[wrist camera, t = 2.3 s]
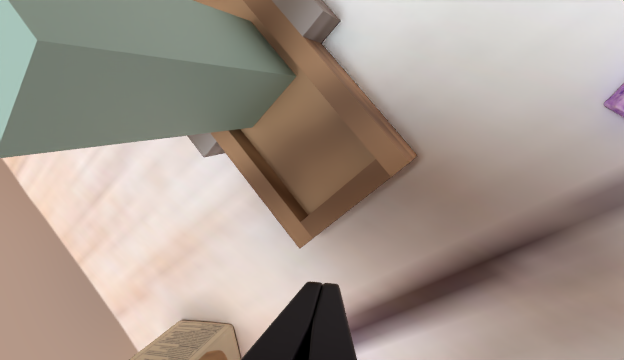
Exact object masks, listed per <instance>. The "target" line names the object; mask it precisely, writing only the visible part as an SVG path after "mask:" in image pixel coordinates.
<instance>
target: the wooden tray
mask: <svg viewBox="0 0 624 360" xmlns="http://www.w3.org/2000/svg"><path fill="white" fill-rule="evenodd" d="M193 1H196V2H199V3H202V4H204V5H207V6H210V7H213V8H215V9H218V10H221V11H224V12H227V13H229V14H232V15H235V16H238V17H241V18H243V19H246V20H249V21H251V22H252V23H253V25H254V26H255V27H256V28H257V29H258V31H259V32H260V33H261V34H262V35H263V37H264V38H265V39H266V40H267V41H268V43H269V44H270V45H271V46H272V47H273V49H274V50H275V51H276V52H277V53H278V55H279V56H280V57H281V58H282V59H283V61H284V62H285V63H286V64H287V65H288V67H289V68H290V69H291V70H292V71H293V73H294V74H295V75H296V78H295V79H294V80H293V81H292V82H291V83H290V84H289V86H288V87H287V88H286V89H285V90H284V91H283V93H282V94H281V95H280V96H279V97H278V98H277V99H276V101H275V102H274V103H273V104H272V105H271V106H270V108H269V109H268V110H267V111H266V112H265V113H264V115H263V116H262V117H261V118H260V119H259V120H258V121H257V123H256V124H255V125H254V126H253V127H252V128H244V129H236V130H228V131H220V132H211V133H203V134H195V135H187V136H188V137H189V139H190V140H191V141H192V143H193V144H194V145H195V147H196V148H197V149H198V150H199V152H200V153H201V154H202V156H203V157H208V156H213V155H218V154H223V153H226V154H227V155H228V157H229V158H230V159H231V161H232V162H233V163H234V164H235V166H236V167H237V168H238V170H239V171H240V172H241V174H242V175H243V176H244V177H245V179H246V180H247V181H248V183H249V184H250V185H251V186H252V188H253V189H254V190H255V192H256V193H257V194H258V196H259V197H260V198H261V199H262V201H263V202H264V203H265V205H266V206H267V207H268V208H269V210H270V211H271V212H272V214H273V215H274V216H275V218H276V219H277V220H278V221H279V223H280V224H281V225H282V227H283V228H284V229H285V230H286V232H287V233H288V234H289V236H290V237H291V238H292V240H293V241H294V242H295V243H296V245H297V246H298V247H299V249H300V248H301V247H303V246H304V245H305V244H306V243H308V242H309V241H310V240H312V239H313V238H314V237H315V236H317V235H318V234H319V233H321V232H322V231H323V230H324V229H326V228H327V227H328V226H329V225H331V224H332V223H333V222H335V221H336V220H337V219H338V218H340V217H341V216H342V215H343V214H345V213H346V212H347V211H349V210H350V209H351V208H352V207H354V206H355V205H356V204H358V203H359V202H360V201H361V200H363V199H364V198H365V197H366V196H368V195H369V194H370V193H372V192H373V191H374V190H375V189H377V188H378V187H379V186H381V185H382V184H383V183H384V182H386V181H387V180H388V179H389V178H391V177H392V176H393V175H395V174H396V173H397V172H398V171H400V170H401V169H402V168H403V167H405V166H406V165H407V164H409V163H410V162H411V161H412V160H413V159H414V158H415V157H416V156H417V155H416V153H415V152H414V151H413V150H412V149H411V148H410V146H409V145H408V144H407V143H406V142H405V141H404V139H403V138H402V137H401V136H400V135H399V134H398V132H397V131H396V130H395V129H394V128H393V127H392V125H391V124H390V123H389V122H388V121H387V120H386V118H385V117H384V116H383V115H382V114H381V113H380V111H379V110H378V109H377V108H376V107H375V106H374V104H373V103H372V102H371V101H370V100H369V99H368V97H367V96H366V95H365V94H364V93H363V92H362V90H361V89H360V88H359V87H358V86H357V85H356V83H355V82H354V81H353V80H352V79H351V78H350V77H349V75H348V74H347V73H346V72H345V71H344V70H343V68H342V67H341V66H340V65H339V64H338V63H337V61H336V60H335V59H334V58H333V57H332V56H331V54H330V53H329V52H328V51H327V50H326V49H325V47H324V46H323V45H322V44H321V43H322V42H323V41H324V39H325V38H326V37H327V36H328V35H329V34H330V32H331V31H332V30H333V29H334V28H335V27H336V25H337V24H338V23H339V22H340V20H339V19H338V18H337V17H336V16H335V14H334V13H333V12H332V11H331V10H330V9H329V8H328V6H327V5H326V4H325V3H324V2H323V1H322V0H193Z"/></svg>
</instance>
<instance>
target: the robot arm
mask: <svg viewBox="0 0 624 360" xmlns="http://www.w3.org/2000/svg"><path fill="white" fill-rule="evenodd" d="M241 360H357V358H356V354H355V349H354V345H353V341H352V337H351V333H350V329H349V325H348V321H347V317H346V313H345V308H344V304H343V300H342V296H341V292H340V288H339V285H338V284H331V283H324V284H322V283H319V282H307V283H306V284H305V285H304V286H303V287H302V289H301V290H300V291H299V292H298V293H297V294H296V296H295V297H294V298H293V299H292V300H291V301H290V303H289V304H288V305H287V306H286V307H285V309H284V310H283V311H282V312H281V313H280V314H279V316H278V317H277V318H276V319H275V320H274V321H273V323H272V324H271V325H270V326H269V327H268V329H267V330H266V331H265V332H264V333H263V334H262V336H261V337H260V338H259V339H258V340H257V341H256V343H255V344H254V345H253V346H252V347H251V348H250V350H249V351H248V352H247V353H246V354H245V356H244V357H243V358H242V359H241Z"/></svg>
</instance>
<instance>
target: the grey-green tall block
mask: <svg viewBox="0 0 624 360" xmlns="http://www.w3.org/2000/svg"><path fill="white" fill-rule="evenodd" d="M295 78H296V75H295V74H294V73H293V71H292V70H291V69H290V68H289V67H288V65H287V64H286V63H285V62H284V61H283V59H282V58H281V57H280V56H279V55H278V53H277V52H276V51H275V50H274V49H273V47H272V46H271V45H270V44H269V43H268V41H267V40H266V39H265V38H264V37H263V35H262V34H261V33H260V32H259V31H258V29H257V28H256V27H255V26H254V25H253V23H252V22H251V21H249V20H246V19H243V18H241V17H238V16H235V15H232V14H229V13H227V12H224V11H221V10H218V9H215V8H213V7H210V6H207V5H204V4H202V3H199V2H196V1H193V0H0V158H5V157H13V156H22V155H30V154H38V153H46V152H55V151H63V150H71V149H79V148H88V147H96V146H104V145H112V144H121V143H129V142H137V141H145V140H154V139H162V138H170V137H178V136H187V135H195V134H203V133H211V132H220V131H228V130H236V129H244V128H252V127H253V126H254V125H255V124H256V123H257V121H258V120H259V119H260V118H261V117H262V116H263V115H264V113H265V112H266V111H267V110H268V109H269V108H270V106H271V105H272V104H273V103H274V102H275V101H276V99H277V98H278V97H279V96H280V95H281V94H282V93H283V91H284V90H285V89H286V88H287V87H288V86H289V84H290V83H291V82H292V81H293V80H294V79H295Z"/></svg>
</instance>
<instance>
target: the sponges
mask: <svg viewBox="0 0 624 360" xmlns="http://www.w3.org/2000/svg"><path fill="white" fill-rule="evenodd" d="M604 106H605V107H607V108H609V109H610V110H612V111H614V112H615V113H617V114H619V115H621V116H622V117H624V83H623V84H622V85H621V86H620V88H619V89H618V90H617V91H616V92H615V93H614V94H613V95H612V96H611V97H610V98H609V99H608V100H607V101H606V102H605V103H604Z"/></svg>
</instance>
